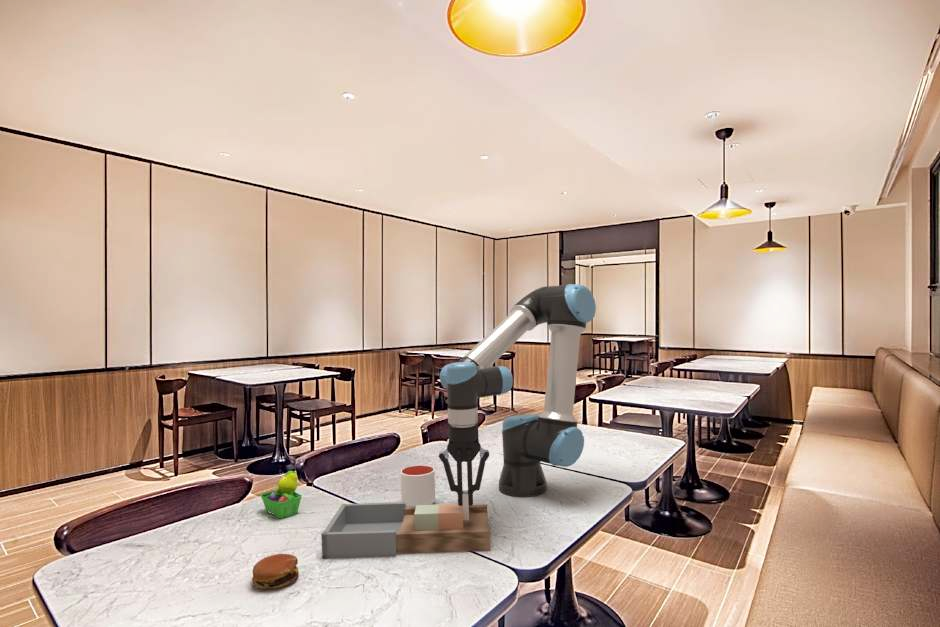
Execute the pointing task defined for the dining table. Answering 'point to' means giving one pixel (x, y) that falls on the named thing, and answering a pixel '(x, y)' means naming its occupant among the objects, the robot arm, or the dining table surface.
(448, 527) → the tile
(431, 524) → the tile
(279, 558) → the burger
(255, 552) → the dining table surface
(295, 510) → the fruit basket
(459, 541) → the wooden tray
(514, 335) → the robot arm
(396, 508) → the box
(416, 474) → the cup
